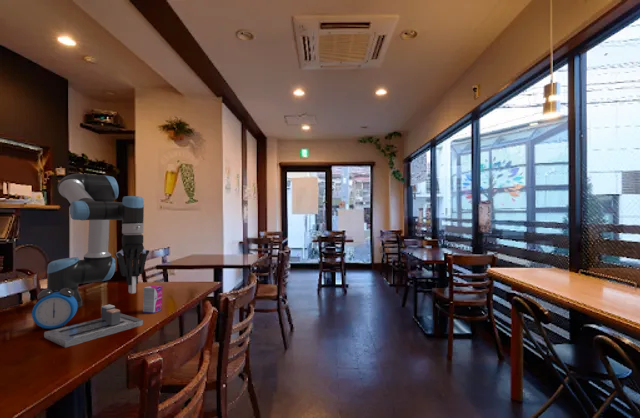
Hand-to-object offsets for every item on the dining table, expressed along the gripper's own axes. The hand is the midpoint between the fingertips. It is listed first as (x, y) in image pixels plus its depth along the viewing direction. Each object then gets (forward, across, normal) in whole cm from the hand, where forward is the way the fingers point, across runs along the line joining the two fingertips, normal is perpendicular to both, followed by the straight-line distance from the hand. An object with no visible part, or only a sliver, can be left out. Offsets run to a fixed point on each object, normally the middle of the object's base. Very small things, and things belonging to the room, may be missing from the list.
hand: (132, 292), depth 129 cm
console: (+13, -11, +4) cm, 17 cm away
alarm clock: (+13, -17, +24) cm, 32 cm away
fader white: (+10, -5, +8) cm, 14 cm away
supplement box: (+13, +15, +10) cm, 22 cm away
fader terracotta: (+11, -7, 0) cm, 13 cm away
